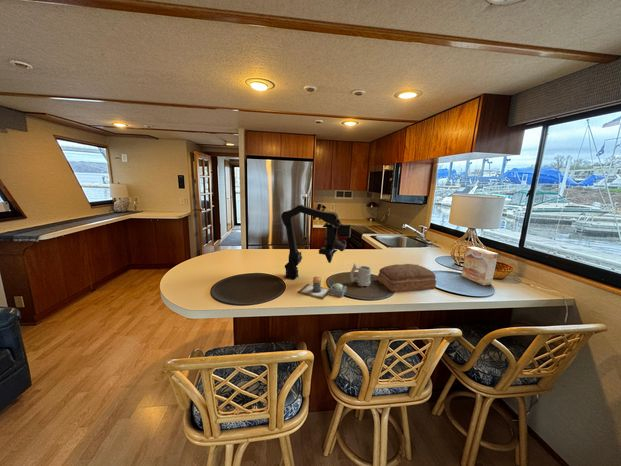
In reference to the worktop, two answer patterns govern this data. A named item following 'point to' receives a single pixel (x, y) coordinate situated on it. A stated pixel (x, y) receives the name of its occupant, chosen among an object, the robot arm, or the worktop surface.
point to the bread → (406, 277)
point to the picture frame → (309, 291)
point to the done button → (338, 286)
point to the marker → (316, 284)
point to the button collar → (337, 291)
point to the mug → (361, 275)
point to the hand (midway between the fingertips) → (329, 262)
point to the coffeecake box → (479, 265)
